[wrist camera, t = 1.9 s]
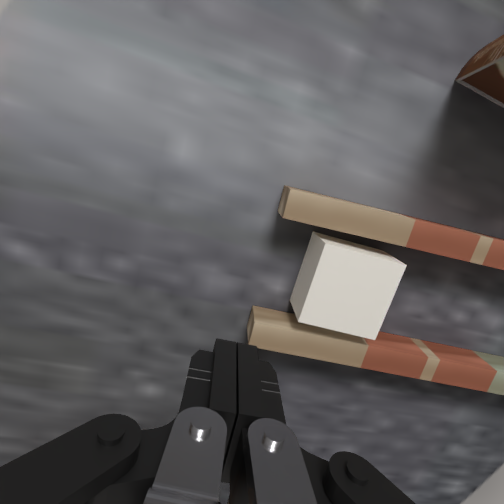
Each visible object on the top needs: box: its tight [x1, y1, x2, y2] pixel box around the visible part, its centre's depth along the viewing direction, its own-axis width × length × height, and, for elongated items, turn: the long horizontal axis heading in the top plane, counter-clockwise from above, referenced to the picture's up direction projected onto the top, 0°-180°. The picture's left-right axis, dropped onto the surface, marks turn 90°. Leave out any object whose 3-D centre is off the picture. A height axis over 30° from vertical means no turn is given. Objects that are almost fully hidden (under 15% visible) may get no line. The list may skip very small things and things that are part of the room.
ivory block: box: [290, 231, 407, 340], centre depth 25 cm, size 6×6×4 cm
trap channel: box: [247, 185, 504, 395], centre depth 26 cm, size 12×28×3 cm, turn 76°
